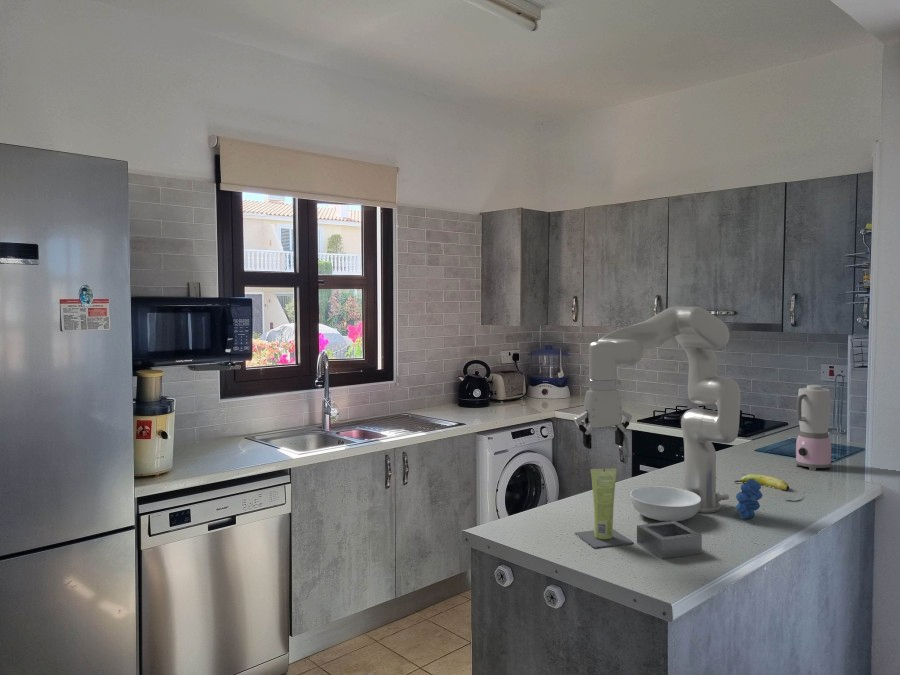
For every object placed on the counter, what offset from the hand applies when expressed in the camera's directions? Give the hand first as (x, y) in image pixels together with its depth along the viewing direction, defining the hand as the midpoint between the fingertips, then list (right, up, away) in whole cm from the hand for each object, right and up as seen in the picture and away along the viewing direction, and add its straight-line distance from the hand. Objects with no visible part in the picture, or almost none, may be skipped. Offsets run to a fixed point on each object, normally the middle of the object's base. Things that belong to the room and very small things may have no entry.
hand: (603, 446), depth 189 cm
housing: (+16, -26, -7) cm, 32 cm away
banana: (+68, -23, +51) cm, 88 cm away
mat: (0, -26, +1) cm, 26 cm away
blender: (+98, -21, +75) cm, 125 cm away
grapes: (+48, -25, +18) cm, 56 cm away
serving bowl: (+23, -25, +19) cm, 39 cm away
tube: (+1, -26, +1) cm, 26 cm away
